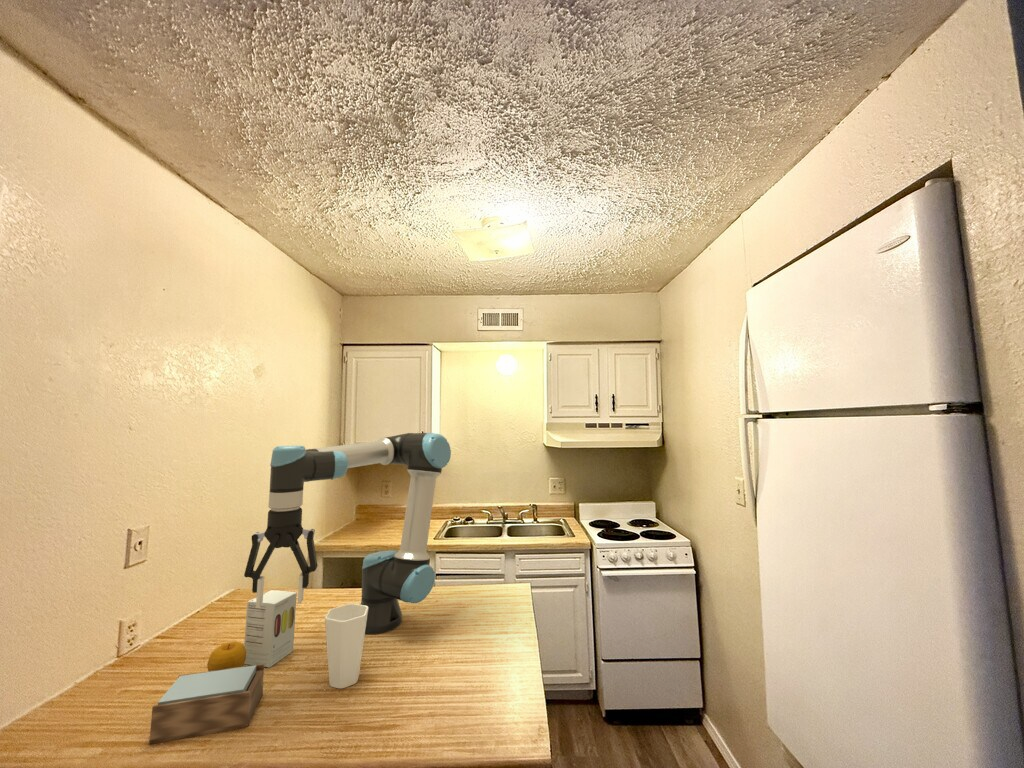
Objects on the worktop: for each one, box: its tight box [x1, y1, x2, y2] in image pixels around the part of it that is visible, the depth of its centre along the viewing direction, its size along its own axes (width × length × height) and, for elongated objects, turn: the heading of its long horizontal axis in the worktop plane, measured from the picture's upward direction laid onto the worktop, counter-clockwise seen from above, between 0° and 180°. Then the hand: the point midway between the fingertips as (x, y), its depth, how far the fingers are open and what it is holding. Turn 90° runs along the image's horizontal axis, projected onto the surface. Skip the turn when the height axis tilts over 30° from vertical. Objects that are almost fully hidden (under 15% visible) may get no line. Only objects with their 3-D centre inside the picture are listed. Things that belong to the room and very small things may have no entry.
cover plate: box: [157, 665, 256, 705], centre depth 96 cm, size 16×10×2 cm, turn 107°
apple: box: [206, 641, 246, 671], centre depth 111 cm, size 8×8×9 cm
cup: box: [324, 603, 368, 689], centre depth 111 cm, size 11×10×17 cm
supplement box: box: [243, 589, 298, 668], centre depth 122 cm, size 10×9×17 cm
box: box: [148, 664, 265, 745], centre depth 96 cm, size 18×12×7 cm, turn 107°
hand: (280, 603), depth 102 cm, fingers open, 8 cm apart
